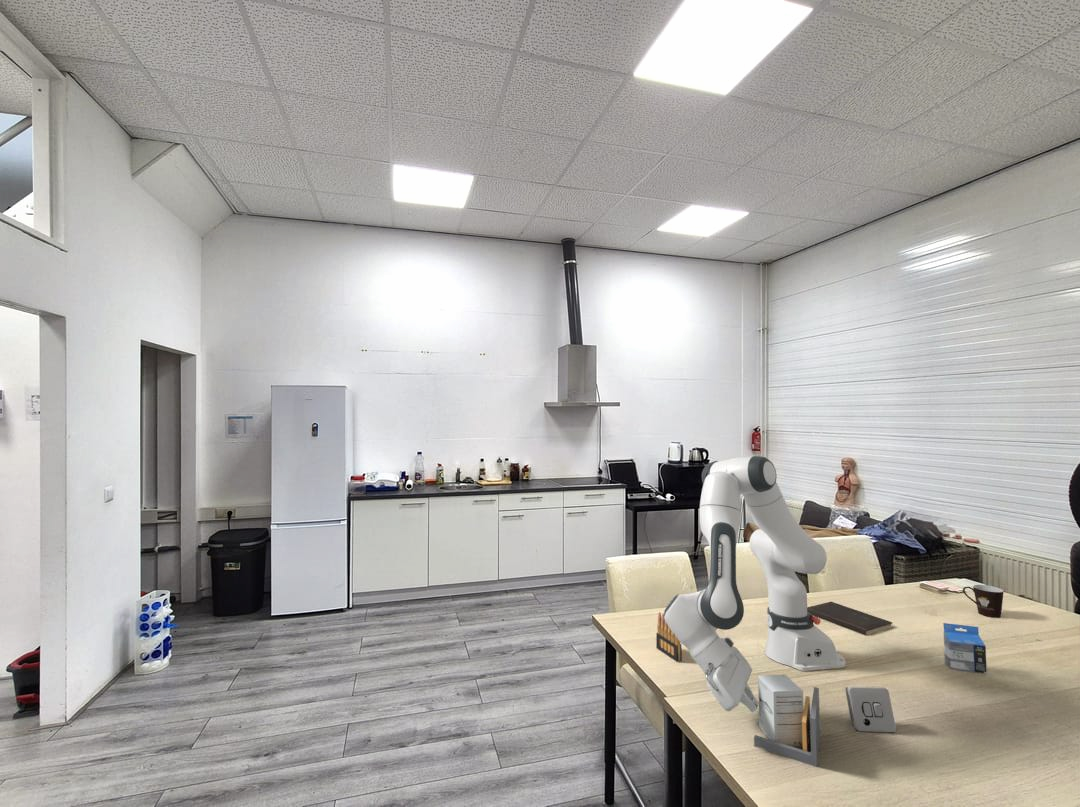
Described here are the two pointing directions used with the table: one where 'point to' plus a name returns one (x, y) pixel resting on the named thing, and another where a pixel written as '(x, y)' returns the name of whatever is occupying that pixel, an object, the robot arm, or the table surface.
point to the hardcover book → (849, 618)
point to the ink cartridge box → (964, 649)
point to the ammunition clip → (667, 640)
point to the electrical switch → (870, 709)
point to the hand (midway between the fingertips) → (755, 708)
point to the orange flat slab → (806, 724)
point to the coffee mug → (987, 600)
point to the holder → (795, 752)
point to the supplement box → (780, 709)
